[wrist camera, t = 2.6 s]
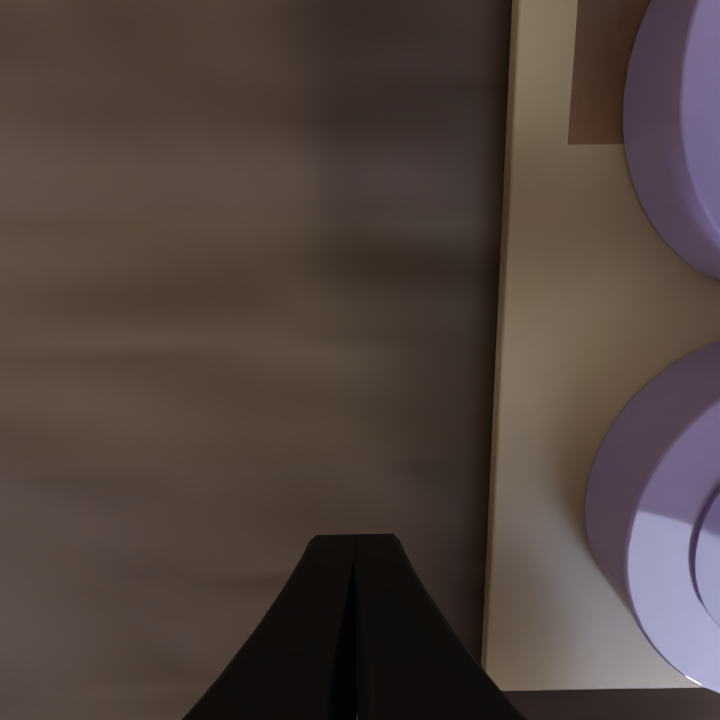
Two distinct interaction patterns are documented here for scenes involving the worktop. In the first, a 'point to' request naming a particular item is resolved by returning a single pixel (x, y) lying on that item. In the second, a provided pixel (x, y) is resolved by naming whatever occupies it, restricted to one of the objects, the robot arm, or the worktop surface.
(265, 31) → the worktop surface
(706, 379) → the saucer
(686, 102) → the saucer
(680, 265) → the board
